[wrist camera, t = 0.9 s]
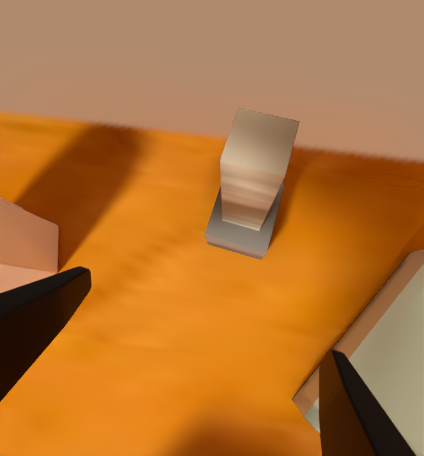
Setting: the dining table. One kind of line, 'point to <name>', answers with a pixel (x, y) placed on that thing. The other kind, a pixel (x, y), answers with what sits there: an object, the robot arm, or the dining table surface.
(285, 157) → the square pillar on base
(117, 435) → the dining table surface
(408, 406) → the tray
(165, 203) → the dining table surface
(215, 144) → the dining table surface
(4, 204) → the jar
